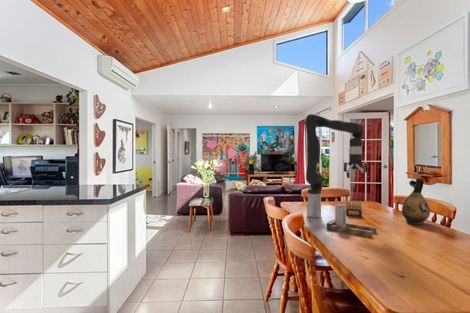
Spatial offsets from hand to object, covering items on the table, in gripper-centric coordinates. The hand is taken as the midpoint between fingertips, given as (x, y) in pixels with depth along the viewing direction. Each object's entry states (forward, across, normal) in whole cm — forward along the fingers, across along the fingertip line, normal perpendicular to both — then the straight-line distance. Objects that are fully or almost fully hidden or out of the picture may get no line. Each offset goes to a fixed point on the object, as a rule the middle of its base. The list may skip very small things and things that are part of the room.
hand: (355, 178), depth 171 cm
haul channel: (+30, +2, -17) cm, 35 cm away
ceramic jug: (+30, +30, +30) cm, 52 cm away
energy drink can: (+30, -4, -17) cm, 35 cm away
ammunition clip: (+30, -8, +25) cm, 40 cm away
